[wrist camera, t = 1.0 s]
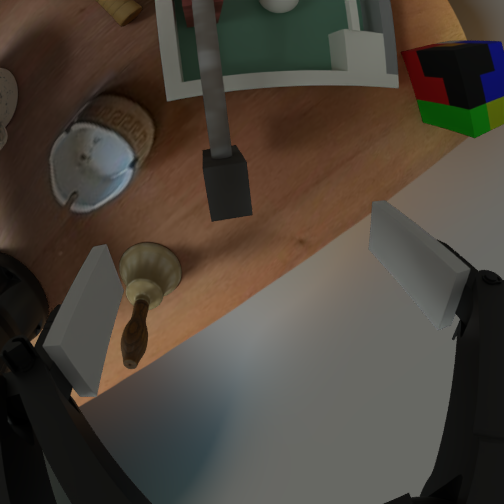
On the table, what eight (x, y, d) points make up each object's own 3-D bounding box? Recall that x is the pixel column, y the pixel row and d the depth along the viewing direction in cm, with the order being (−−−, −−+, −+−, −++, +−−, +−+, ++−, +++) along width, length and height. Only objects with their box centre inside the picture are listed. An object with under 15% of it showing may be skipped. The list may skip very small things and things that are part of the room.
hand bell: (107, 268, 37) (72, 360, 23) (149, 229, 35) (123, 318, 22) (151, 306, 41) (139, 401, 27) (194, 273, 39) (196, 370, 26)
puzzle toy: (449, 40, 27) (501, 41, 19) (466, 104, 32) (516, 117, 24) (400, 52, 28) (454, 50, 20) (422, 122, 33) (474, 138, 25)
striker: (207, 180, 31) (210, 225, 22) (176, -74, 16) (170, -129, 6) (237, 175, 32) (255, 218, 22) (207, -77, 16) (213, -134, 6)
